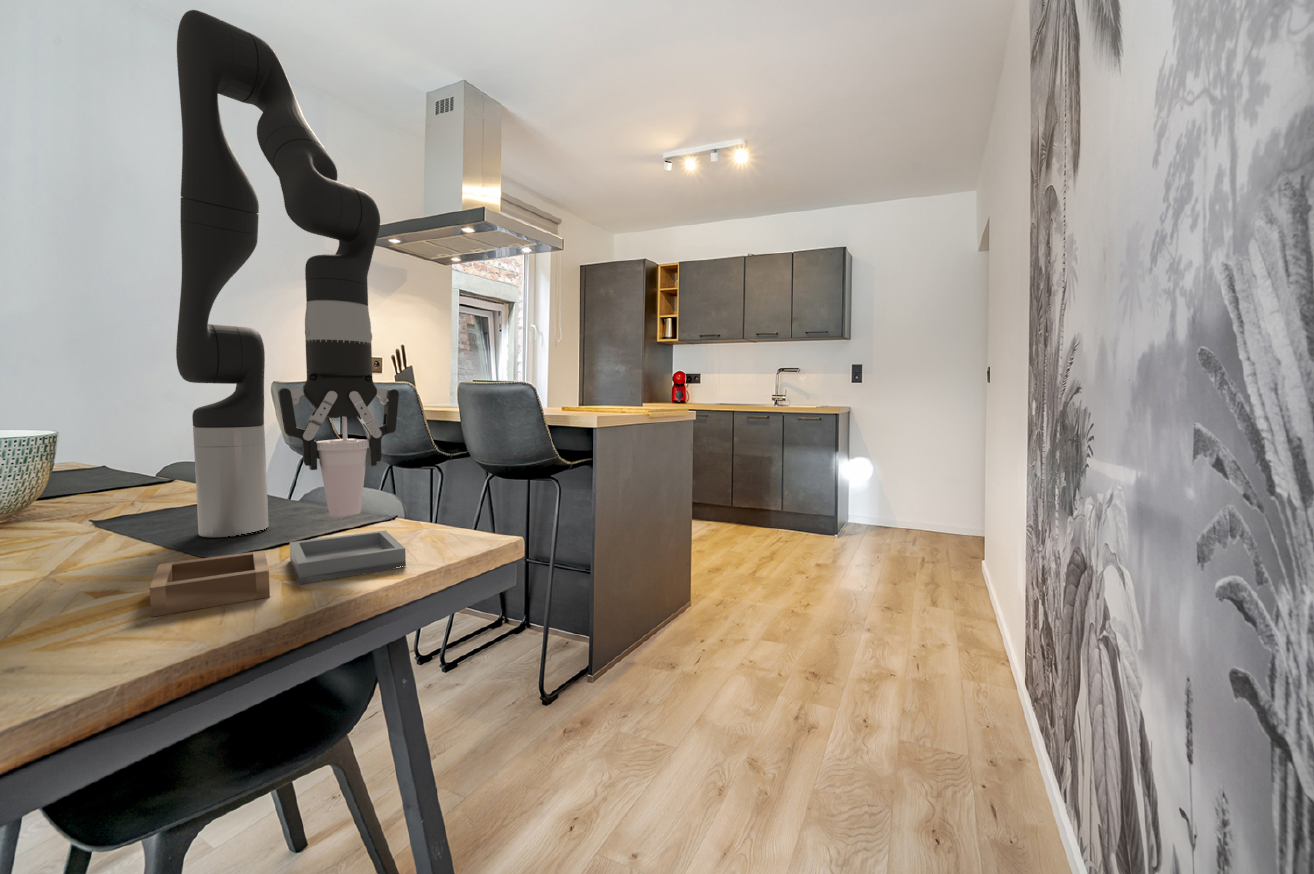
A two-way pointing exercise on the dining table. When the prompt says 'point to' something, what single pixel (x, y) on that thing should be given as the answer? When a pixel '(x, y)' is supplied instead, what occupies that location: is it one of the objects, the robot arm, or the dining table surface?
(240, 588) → the holder
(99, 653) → the dining table surface
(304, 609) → the dining table surface
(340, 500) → the smoothie
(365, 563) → the tray
